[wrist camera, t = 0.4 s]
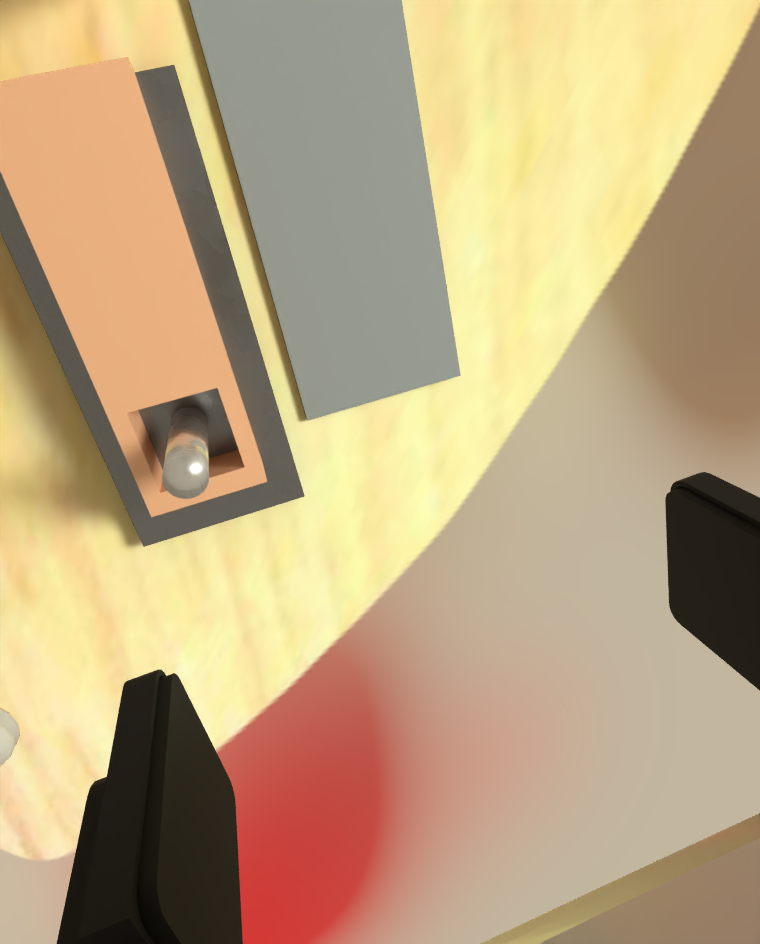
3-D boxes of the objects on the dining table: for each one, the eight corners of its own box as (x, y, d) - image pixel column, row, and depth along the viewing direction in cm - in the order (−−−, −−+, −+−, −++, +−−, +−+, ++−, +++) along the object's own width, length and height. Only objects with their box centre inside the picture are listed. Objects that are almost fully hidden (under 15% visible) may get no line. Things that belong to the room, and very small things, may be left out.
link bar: (-13, 101, 26) (-36, 88, 24) (134, 72, 27) (127, 56, 25) (155, 494, 35) (151, 517, 32) (262, 462, 36) (267, 481, 33)
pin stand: (-47, 113, 27) (-152, 69, 19) (174, 69, 29) (163, 12, 21) (144, 538, 37) (129, 627, 29) (302, 489, 39) (328, 561, 31)
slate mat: (180, -28, 27) (180, -31, 27) (388, -63, 29) (390, -67, 29) (306, 418, 37) (307, 420, 36) (458, 373, 38) (460, 375, 38)
